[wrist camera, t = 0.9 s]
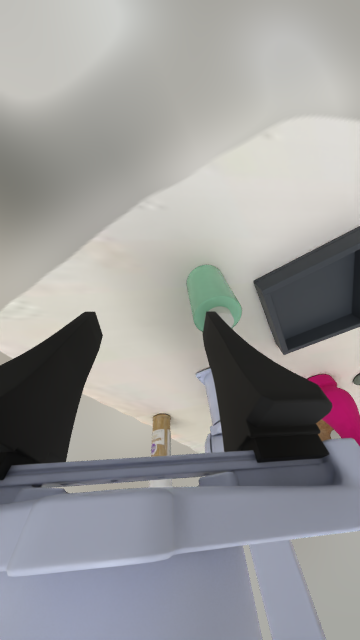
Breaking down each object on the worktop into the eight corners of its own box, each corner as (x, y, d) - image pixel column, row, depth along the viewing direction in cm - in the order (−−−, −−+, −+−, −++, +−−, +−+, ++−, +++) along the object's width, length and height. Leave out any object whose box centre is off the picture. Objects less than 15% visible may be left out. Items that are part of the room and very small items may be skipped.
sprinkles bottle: (155, 412, 42) (152, 488, 32) (173, 414, 44) (175, 488, 33) (150, 420, 45) (145, 493, 34) (167, 421, 46) (167, 492, 36)
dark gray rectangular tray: (354, 312, 26) (369, 323, 24) (276, 343, 29) (283, 355, 27) (360, 225, 18) (383, 231, 16) (253, 281, 22) (261, 290, 20)
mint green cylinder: (227, 286, 22) (252, 329, 16) (197, 303, 23) (208, 348, 17) (213, 257, 19) (235, 293, 13) (179, 277, 21) (185, 318, 14)
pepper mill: (309, 393, 41) (397, 523, 25) (291, 386, 38) (377, 526, 23) (340, 378, 37) (464, 518, 22) (322, 368, 35) (449, 521, 19)
